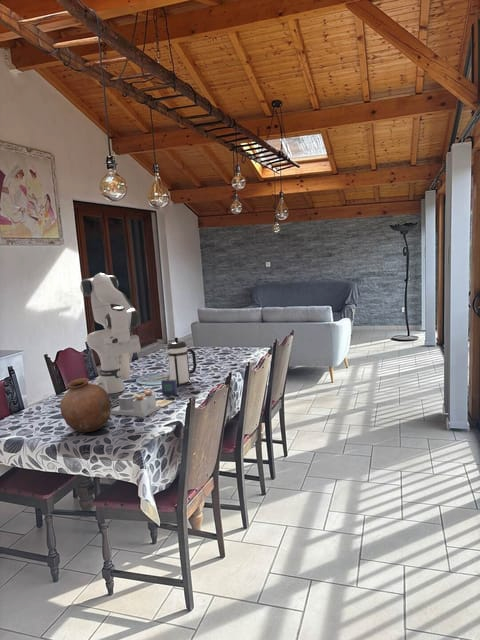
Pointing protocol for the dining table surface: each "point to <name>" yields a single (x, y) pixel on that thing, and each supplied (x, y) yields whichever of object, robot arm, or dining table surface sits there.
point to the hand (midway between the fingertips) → (124, 363)
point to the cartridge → (125, 366)
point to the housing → (136, 405)
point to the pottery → (85, 406)
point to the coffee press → (180, 361)
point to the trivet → (163, 403)
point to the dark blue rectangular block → (169, 386)
